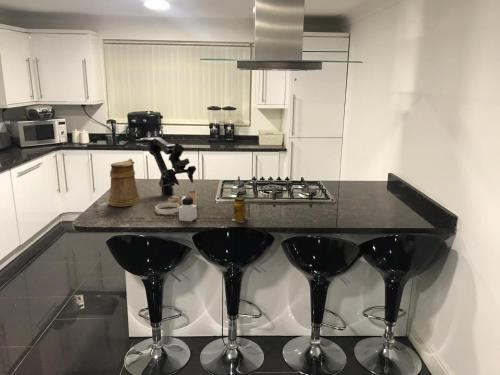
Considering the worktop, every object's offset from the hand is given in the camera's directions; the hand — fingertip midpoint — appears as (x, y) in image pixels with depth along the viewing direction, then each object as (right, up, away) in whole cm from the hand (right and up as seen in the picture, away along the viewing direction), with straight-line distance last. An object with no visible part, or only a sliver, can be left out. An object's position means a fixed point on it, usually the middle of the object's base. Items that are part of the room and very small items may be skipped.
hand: (185, 183), depth 250 cm
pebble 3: (-3, -10, +9) cm, 14 cm away
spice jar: (+5, -14, -3) cm, 15 cm away
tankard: (-38, -11, +10) cm, 41 cm away
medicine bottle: (+4, -19, -20) cm, 28 cm away
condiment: (+33, -20, -21) cm, 44 cm away
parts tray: (-6, -11, +9) cm, 15 cm away
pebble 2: (-6, -11, +7) cm, 14 cm away
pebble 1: (-8, -10, +10) cm, 16 cm away
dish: (-9, -16, -7) cm, 19 cm away
